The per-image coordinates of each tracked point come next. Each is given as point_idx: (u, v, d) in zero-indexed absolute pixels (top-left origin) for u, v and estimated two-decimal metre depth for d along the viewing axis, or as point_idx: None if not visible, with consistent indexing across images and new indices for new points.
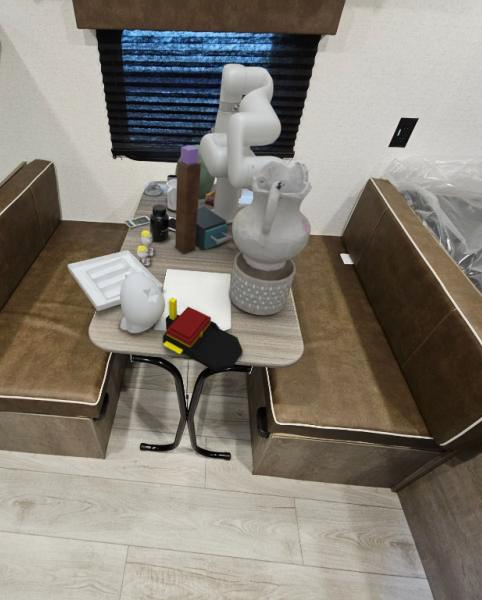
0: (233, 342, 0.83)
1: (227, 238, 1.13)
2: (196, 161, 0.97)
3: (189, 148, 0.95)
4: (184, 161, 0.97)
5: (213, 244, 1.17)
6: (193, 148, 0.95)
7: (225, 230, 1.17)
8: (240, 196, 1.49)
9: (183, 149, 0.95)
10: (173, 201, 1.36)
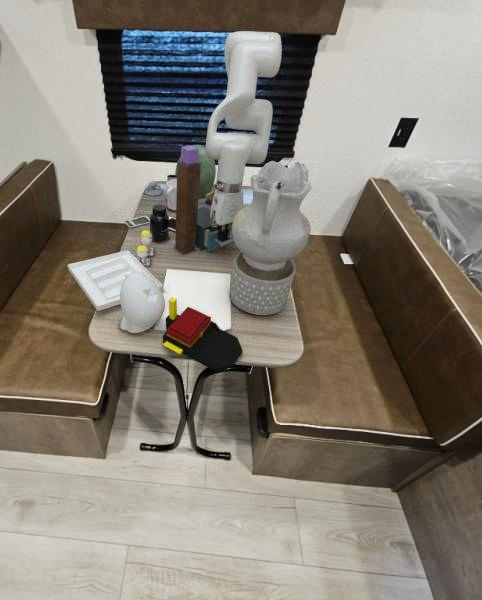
0: (233, 342, 0.83)
1: (231, 241, 1.12)
2: (196, 161, 0.97)
3: (189, 148, 0.95)
4: (184, 161, 0.97)
5: (217, 247, 1.16)
6: (193, 148, 0.95)
7: (229, 232, 1.16)
8: None
9: (183, 149, 0.95)
10: (173, 201, 1.36)
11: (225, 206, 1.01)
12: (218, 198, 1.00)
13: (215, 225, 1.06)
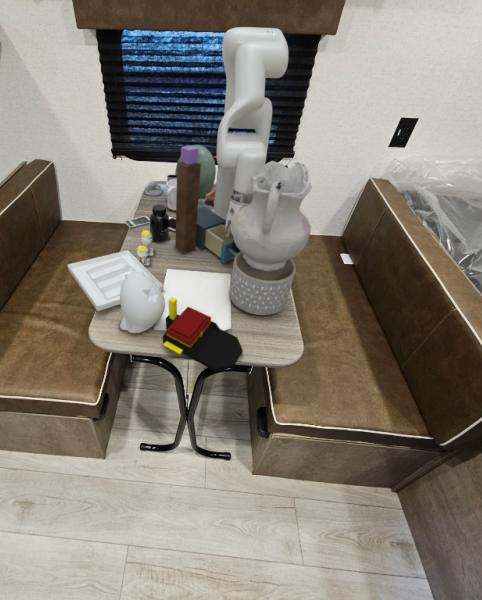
0: (233, 342, 0.83)
1: None
2: (196, 161, 0.97)
3: (189, 148, 0.95)
4: (184, 161, 0.97)
5: (231, 257, 1.11)
6: (193, 148, 0.95)
7: None
8: None
9: (183, 149, 0.95)
10: (173, 201, 1.36)
11: None
12: (234, 208, 0.96)
13: (230, 236, 1.02)
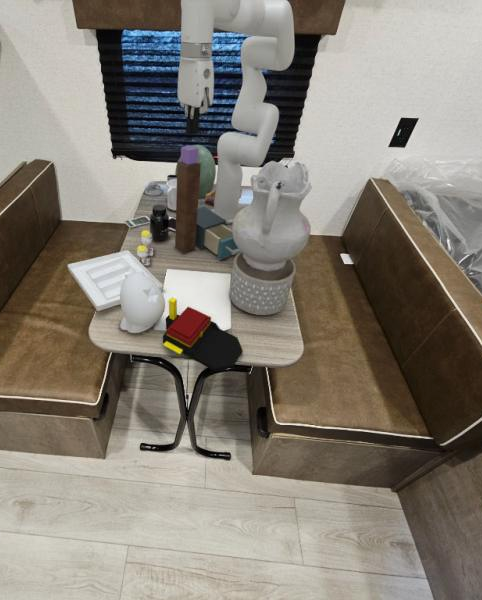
0: (233, 342, 0.83)
1: None
2: (196, 161, 0.97)
3: (189, 148, 0.95)
4: (184, 161, 0.97)
5: (227, 254, 1.13)
6: (193, 148, 0.95)
7: None
8: (240, 196, 1.49)
9: (183, 149, 0.95)
10: (173, 201, 1.36)
11: None
12: (210, 67, 0.80)
13: None
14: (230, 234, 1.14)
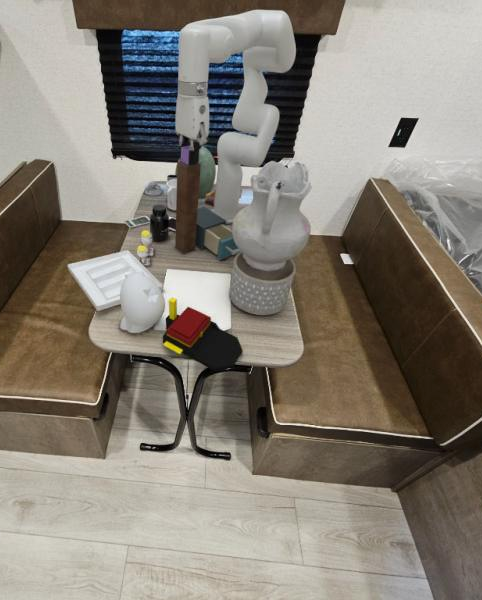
0: (233, 342, 0.83)
1: None
2: None
3: (189, 148, 0.95)
4: (184, 161, 0.97)
5: (227, 254, 1.13)
6: None
7: None
8: (240, 196, 1.49)
9: (183, 149, 0.95)
10: (173, 201, 1.36)
11: None
12: (205, 103, 0.85)
13: None
14: (230, 234, 1.14)
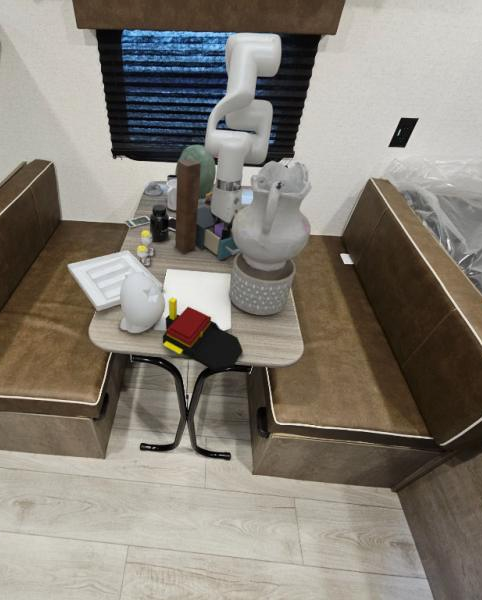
0: (233, 342, 0.83)
1: None
2: None
3: (222, 226, 1.10)
4: None
5: (227, 254, 1.13)
6: None
7: None
8: None
9: (217, 227, 1.11)
10: (173, 201, 1.36)
11: None
12: (239, 196, 1.01)
13: None
14: (230, 234, 1.14)
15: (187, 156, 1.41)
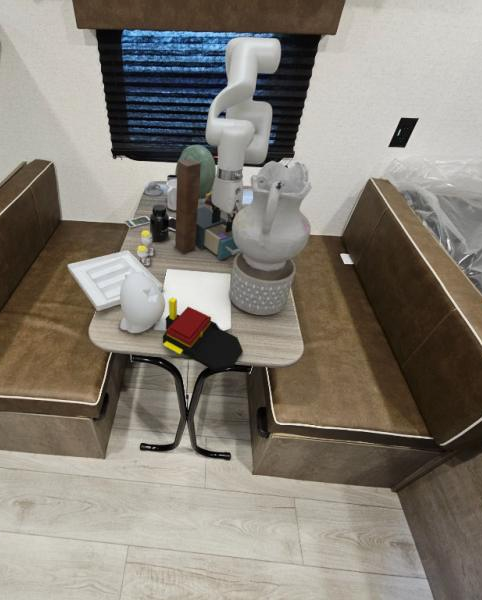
0: (233, 342, 0.83)
1: None
2: None
3: (220, 236, 1.13)
4: None
5: (227, 254, 1.13)
6: (224, 236, 1.13)
7: None
8: None
9: None
10: (173, 201, 1.36)
11: None
12: (240, 186, 0.99)
13: None
14: (230, 234, 1.14)
15: (187, 156, 1.41)
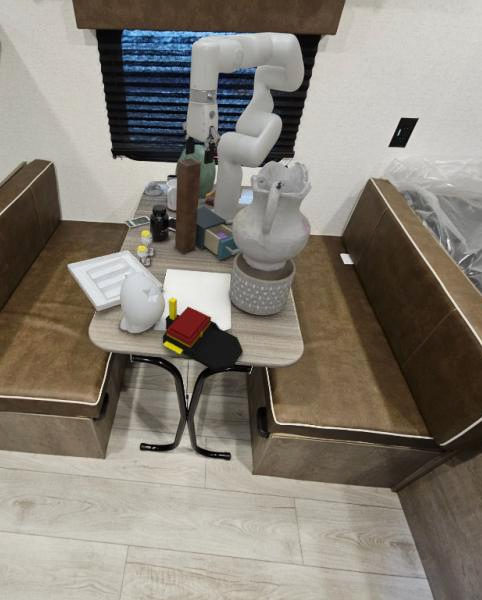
0: (233, 342, 0.83)
1: None
2: None
3: (220, 236, 1.13)
4: None
5: (227, 254, 1.13)
6: (224, 236, 1.13)
7: None
8: (240, 196, 1.49)
9: None
10: (173, 201, 1.36)
11: None
12: (215, 109, 0.94)
13: None
14: (230, 234, 1.14)
15: (187, 156, 1.41)
